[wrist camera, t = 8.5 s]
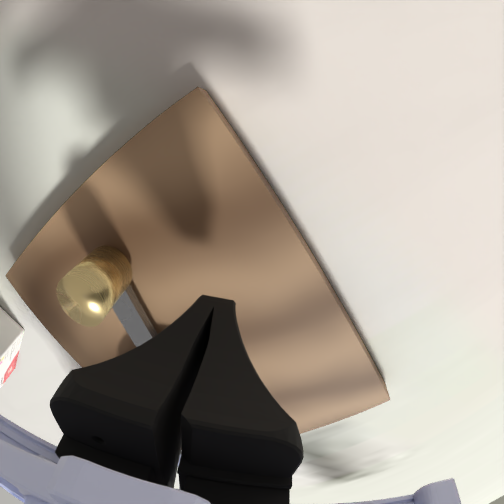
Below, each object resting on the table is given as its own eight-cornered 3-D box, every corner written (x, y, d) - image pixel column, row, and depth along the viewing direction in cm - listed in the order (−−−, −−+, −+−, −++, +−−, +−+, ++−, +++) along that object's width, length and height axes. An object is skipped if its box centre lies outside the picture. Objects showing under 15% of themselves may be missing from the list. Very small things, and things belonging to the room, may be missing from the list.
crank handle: (260, 417, 19) (258, 456, 16) (160, 424, 20) (150, 457, 17) (165, 222, 13) (137, 252, 10) (51, 265, 15) (18, 293, 12)
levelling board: (385, 384, 20) (390, 401, 18) (196, 444, 25) (193, 458, 23) (205, 89, 13) (197, 86, 11) (17, 266, 18) (4, 276, 16)
